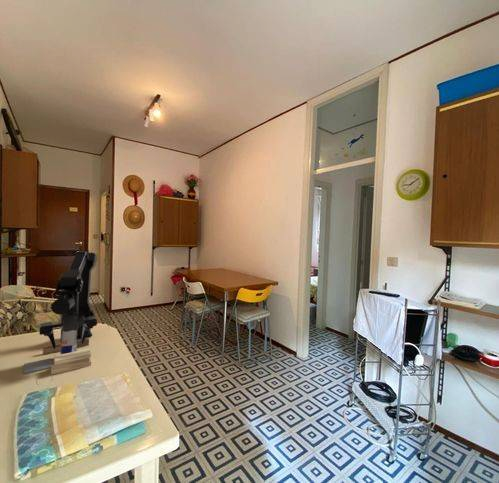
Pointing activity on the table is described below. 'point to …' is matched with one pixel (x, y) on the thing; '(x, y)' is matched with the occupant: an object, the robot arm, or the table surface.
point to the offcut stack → (70, 361)
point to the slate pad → (37, 365)
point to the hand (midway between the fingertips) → (68, 346)
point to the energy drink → (68, 341)
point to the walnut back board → (50, 348)
